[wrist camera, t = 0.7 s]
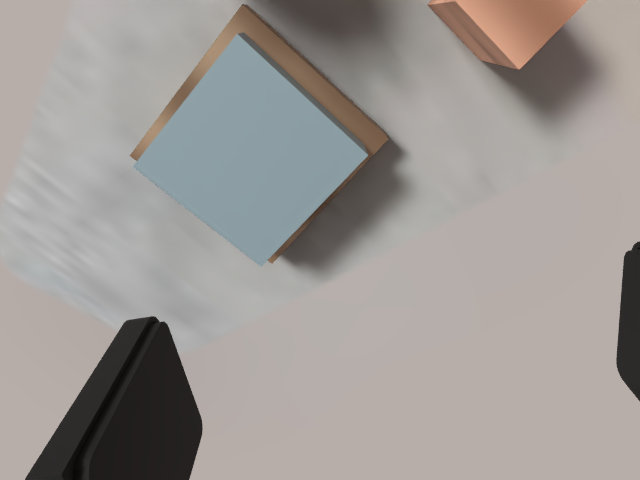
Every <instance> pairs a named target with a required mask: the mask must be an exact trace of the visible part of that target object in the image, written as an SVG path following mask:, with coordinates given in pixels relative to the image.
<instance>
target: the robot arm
mask: <svg viewBox="0 0 640 480" xmlns="http://www.w3.org/2000/svg"><path fill="white" fill-rule="evenodd" d="M617 368H618V371H619V374H620V376H621V378H622V380H623V381H624V382H625V383H626V385H627V386H628V387H629V388H630V390H631V391H632V392H633V393H634V394H635V396H636V397H637V398H638V400H639V401H640V242H637V243H636V244H634V246H633V248H632V250H631V251H628V252H626V254H625V256H624V266H623V279H622V293H621V306H620V319H619V334H618V346H617ZM201 436H202V420H201V416H200V413H199V410H198V408H197V405H196V402H195V400H194V397H193V394H192V391H191V388H190V385H189V383H188V380H187V377H186V375H185V372H184V369H183V366H182V364H181V360H180V358H179V355H178V352H177V349H176V347H175V344H174V341H173V338H172V335H171V333H170V330H169V327H168V325H167V324H166V323H165V322H159V320H158V319H157V318H156V317H154V316H152V317H146V318H139V319H133V320H127V321H126V322H125V323H124V324H123V326H122V327H121V329H120V330H119V332H118V333H117V335H116V337H115V338H114V340H113V341H112V343H111V345H110V346H109V348H108V349H107V351H106V352H105V354H104V356H103V357H102V359H101V360H100V362H99V363H98V365H97V367H96V368H95V370H94V371H93V373H92V374H91V376H90V378H89V379H88V381H87V382H86V384H85V386H84V387H83V389H82V390H81V392H80V393H79V395H78V397H77V398H76V400H75V401H74V403H73V404H72V406H71V407H70V409H69V411H68V412H67V414H66V415H65V417H64V419H63V420H62V422H61V423H60V425H59V426H58V428H57V430H56V431H55V433H54V434H53V436H52V437H51V439H50V441H49V442H48V444H47V446H46V447H45V448H44V450H43V452H42V454H41V455H40V456H39V458H38V460H37V461H36V463H35V464H34V466H33V467H32V469H31V471H30V472H29V474H28V475H27V477H26V479H25V480H189V478H190V475H191V471H192V468H193V464H194V461H195V457H196V454H197V450H198V447H199V443H200V440H201Z"/></svg>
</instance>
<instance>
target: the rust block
mask: <svg viewBox="0 0 640 480" xmlns="http://www.w3.org/2000/svg"><path fill="white" fill-rule="evenodd" d="M586 1H587V0H431V1H430V3H429V4H428V6H429V7H430V8H431V9H432V10H433V11H434V12H435V13H436V14H437V15H438V16H439V17H440V18H441V19H442V20H443V22H444V23H445V24H446V25H447V26H448V27H449V28H450V29H451V30H452V31H453V32H454V33H455V34H456V35H457V36H458V37H459V38H460V39H461V40H462V41H463V43H464V44H465V45H466V46H467V47H468V48H469V49H470V50H471V51H472V52H473V53H474V54H475V55H476V56H477V57H478V58H479V59H480V60H482V61H486V62H490V63H494V64H498V65H502V66H506V67H510V68H514V69H518V70H520V69H521V68H522V67H523V66H524V65H525V64H526V63H527V61H528V60H529V59H530V58H531V57H532V56H533V55H534V54H535V53H536V52H537V51H538V50H539V49H540V48H541V47H542V46H543V45H544V44H545V43H546V42H547V41H548V40H549V39H550V38H551V37H552V36H553V35H554V34H555V33H556V32H557V31H558V30H559V29H560V28H561V27H562V26H563V25H564V24H565V23H566V22H567V21H568V20H569V19H570V18H571V17H572V16H573V15H574V14H575V13H576V12H577V11H578V10H579V9H580V8H581V7H582V6H583V5H584V4H585V2H586Z"/></svg>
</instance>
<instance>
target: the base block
mask: <svg viewBox="0 0 640 480" xmlns="http://www.w3.org/2000/svg"><path fill="white" fill-rule="evenodd" d="M243 32H244V33H245V34H246V35H247V36H248V37H250V38H251V39H252V40H253V41H254V42H255V43H256V44H257V45H258V46H259V47H260V48H261V49H262V50H264V51H265V52H266V53H267V54H268V55H269V56H270V57H271V58H272V59H273V60H274V61H275V62H276V63H277V64H279V65H280V66H281V67H282V68H283V69H284V70H285V71H286V72H287V73H288V74H289V75H290V76H291V77H293V78H294V79H295V80H296V81H297V82H298V83H299V84H300V85H301V86H302V87H303V88H304V89H305V90H306V91H308V92H309V93H310V94H311V95H312V96H313V97H314V98H315V99H316V100H317V101H318V102H319V103H320V104H322V105H323V106H324V107H325V108H326V109H327V110H328V111H329V112H330V113H331V114H332V115H333V116H334V117H336V118H337V119H338V120H339V121H340V122H341V123H342V124H343V125H344V126H345V127H346V128H347V129H348V130H349V131H351V132H352V133H353V134H354V135H355V136H356V137H357V138H358V139H359V140H360V141H361V142H362V143H363V144H364V146H365V148H366V151H367V153H368V156H367V157H366V158H365V159H364V160H363V161H362V162H361V163H360V164H359V165H358V166H357V168H356V169H355V170H354V171H353V172H352V173H351V174H350V175H349V176H348V177H347V178H346V179H345V180H344V181H343V182H342V183H341V184H340V185H339V186H338V187H337V188H336V189H335V190H334V191H333V193H332V194H331V195H330V196H329V197H328V198H327V199H326V200H325V201H324V202H323V203H322V204H321V205H320V206H319V207H318V208H317V209H316V210H315V211H314V212H313V213H312V214H311V215H310V216H309V217H308V219H307V220H306V221H305V222H304V223H303V224H302V225H301V226H300V227H299V228H298V229H297V230H296V231H295V232H294V233H293V234H292V235H291V236H290V237H289V238H288V239H287V240H286V241H285V242H284V243H283V245H282V246H281V247H280V248H279V249H278V250H277V251H276V252H275V253H274V254H273V255H272V256H271V257H270V258H269V259H268V261H269V262H270V263H273V262H274V261H275V260H276V259H277V258H278V257H279V256H280V255H281V253H282V252H283V251H284V250H285V249H286V248H287V247H288V246H289V245H290V244H291V243H292V242H293V241H294V240H295V239H296V237H297V236H298V235H299V234H300V233H301V232H302V231H303V230H304V229H305V228H306V227H307V226H308V225H309V224H310V222H311V221H312V220H313V219H314V218H315V217H316V216H317V215H318V214H319V213H320V212H321V211H322V210H323V209H324V207H325V206H326V205H327V204H328V203H329V202H330V201H331V200H332V199H333V198H334V197H335V196H336V195H337V194H338V192H339V191H340V190H341V189H342V188H343V187H344V186H345V185H346V184H347V183H348V182H349V181H350V180H351V179H352V178H353V176H354V175H355V174H356V173H357V172H358V171H359V170H360V169H361V168H362V167H363V166H364V165H365V164H366V163H367V161H368V160H369V159H370V158H371V157H372V156H373V155H374V154H375V153H376V152H377V151H378V150H379V149H380V148H381V146H382V145H383V144H384V143H385V142H386V141H387V140H388V139H389V138H388V136H387V135H386V133H385V132H384V130H383V129H381V128H380V127H379V126H378V125H377V124H376V123H375V122H374V121H373V120H372V119H371V118H369V117H368V116H367V115H366V114H365V113H364V112H363V111H362V110H361V109H360V108H359V107H358V106H356V105H355V104H354V103H353V102H352V101H351V100H350V99H349V98H348V97H347V96H346V95H345V94H343V93H342V92H341V91H340V90H339V89H338V88H337V87H336V86H335V85H334V84H333V83H332V82H330V81H329V80H328V79H327V78H326V77H325V76H324V75H323V74H322V73H321V72H320V71H318V70H317V69H316V68H315V67H314V66H313V65H312V64H311V63H310V62H309V61H308V60H307V59H305V58H304V57H303V56H302V55H301V54H300V53H299V52H298V51H297V50H296V49H295V48H294V47H292V46H291V45H290V44H289V43H288V42H287V41H286V40H285V39H284V38H283V37H282V36H280V35H279V34H278V33H277V32H276V31H275V30H274V29H273V28H272V27H271V26H270V25H269V24H267V23H266V22H265V21H264V20H263V19H262V18H261V17H260V16H259V15H258V14H257V13H256V12H254V11H253V10H252V9H251V8H250V7H249V6H248V5H244V4H242V5H241V7H240V8H239V10H238V11H237V12H236V14H235V15H234V16H233V18H232V19H231V20H230V22H229V23H228V24H227V26H226V27H225V28H224V30H223V31H222V32H221V34H220V35H219V36H218V38H217V39H216V40H215V42H214V43H213V44H212V46H211V47H210V49H209V50H208V51H207V53H206V54H205V55H204V57H203V58H202V59H201V61H200V62H199V63H198V65H197V66H196V67H195V69H194V70H193V71H192V73H191V74H190V75H189V77H188V78H187V79H186V81H185V82H184V83H183V85H182V86H181V88H180V89H179V90H178V92H177V93H176V94H175V96H174V97H173V98H172V100H171V101H170V102H169V104H168V105H167V106H166V108H165V109H164V110H163V112H162V113H161V114H160V116H159V117H158V118H157V120H156V121H155V122H154V124H153V125H152V127H151V128H150V129H149V131H148V132H147V133H146V135H145V136H144V137H143V139H142V140H141V141H140V143H139V144H138V145H137V147H136V148H135V149H134V151H133V152H132V153H131V155H130V156H131V157H132V158H134V159H135V160H136V161H138V159H139V158H140V157H141V155H142V154H143V153H144V152H145V150H146V149H147V148H148V147H149V145H150V144H151V143H152V141H153V140H154V139H155V138H156V136H157V135H158V134H159V133H160V131H161V130H162V129H163V127H164V126H165V125H166V124H167V122H168V121H169V120H170V119H171V117H172V116H173V115H174V113H175V112H176V111H177V110H178V108H179V107H180V106H181V104H182V103H183V102H184V101H185V99H186V98H187V97H188V96H189V94H190V93H191V92H192V90H193V89H194V88H195V87H196V85H197V84H198V83H199V82H200V80H201V79H202V78H203V76H204V75H205V74H206V73H207V71H208V70H209V69H210V68H211V66H212V65H213V64H214V62H215V61H216V60H217V59H218V57H219V56H220V55H221V54H222V52H223V51H224V50H225V48H226V47H227V46H228V45H229V43H230V42H231V41H232V40H233V38H234V37H235V36H236V34H238V33H243Z"/></svg>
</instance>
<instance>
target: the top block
mask: <svg viewBox="0 0 640 480" xmlns="http://www.w3.org/2000/svg"><path fill="white" fill-rule="evenodd" d="M367 156H368V153H367V151H366V148H365V146H364V144H363V143H362V142H361V141H360V140H359V139H358V138H357V137H356V136H355V135H354V134H353V133H352V132H351V131H349V130H348V129H347V128H346V127H345V126H344V125H343V124H342V123H341V122H340V121H339V120H338V119H337V118H336V117H334V116H333V115H332V114H331V113H330V112H329V111H328V110H327V109H326V108H325V107H324V106H323V105H322V104H320V103H319V102H318V101H317V100H316V99H315V98H314V97H313V96H312V95H311V94H310V93H309V92H308V91H306V90H305V89H304V88H303V87H302V86H301V85H300V84H299V83H298V82H297V81H296V80H295V79H294V78H293V77H291V76H290V75H289V74H288V73H287V72H286V71H285V70H284V69H283V68H282V67H281V66H280V65H279V64H277V63H276V62H275V61H274V60H273V59H272V58H271V57H270V56H269V55H268V54H267V53H266V52H265V51H264V50H262V49H261V48H260V47H259V46H258V45H257V44H256V43H255V42H254V41H253V40H252V39H251V38H250V37H248V36H247V35H246V34H245V33H244V32H243V33H238V34H236V36H235V37H234V38H233V40H232V41H231V42H230V43H229V45H228V46H227V47H226V48H225V50H224V51H223V52H222V54H221V55H220V56H219V57H218V59H217V60H216V61H215V62H214V64H213V65H212V66H211V68H210V69H209V70H208V71H207V73H206V74H205V75H204V76H203V78H202V79H201V80H200V82H199V83H198V84H197V85H196V87H195V88H194V89H193V90H192V92H191V93H190V94H189V96H188V97H187V98H186V99H185V101H184V102H183V103H182V104H181V106H180V107H179V108H178V110H177V111H176V112H175V113H174V115H173V116H172V117H171V119H170V120H169V121H168V122H167V124H166V125H165V126H164V127H163V129H162V130H161V131H160V133H159V134H158V135H157V136H156V138H155V139H154V140H153V141H152V143H151V144H150V145H149V147H148V148H147V149H146V150H145V152H144V153H143V154H142V155H141V157H140V158H139V159H138V161H137V162H136V163H135V164H134V166H133V167H134V168H135V169H136V170H138V171H139V172H140V173H141V174H143V175H144V176H145V177H147V178H148V179H149V180H150V181H152V182H153V183H154V184H156V185H157V186H158V187H159V188H161V189H162V190H163V191H165V192H166V193H167V194H168V195H170V196H171V197H172V198H174V199H175V200H176V201H177V202H179V203H180V204H181V205H183V206H184V207H185V208H186V209H188V210H189V211H190V212H192V213H193V214H194V215H195V216H197V217H198V218H199V219H201V220H202V221H203V222H204V223H206V224H207V225H208V226H210V227H211V228H212V229H213V230H215V231H216V232H217V233H219V234H220V235H221V236H222V237H224V238H225V239H226V240H228V241H229V242H230V243H231V244H233V245H234V246H235V247H237V248H238V249H239V250H240V251H242V252H243V253H244V254H246V255H247V256H248V257H249V258H251V259H252V260H253V261H255V262H256V263H257V264H258V265H260V266H262V265H263V264H264V263H265V262H266V261H267V260H268V259H269V258H270V257H271V256H272V255H273V254H274V253H275V252H276V251H277V250H278V249H279V248H280V247H281V246H282V245H283V243H284V242H285V241H286V240H287V239H288V238H289V237H290V236H291V235H292V234H293V233H294V232H295V231H296V230H297V229H298V228H299V227H300V226H301V225H302V224H303V223H304V222H305V221H306V220H307V219H308V217H309V216H310V215H311V214H312V213H313V212H314V211H315V210H316V209H317V208H318V207H319V206H320V205H321V204H322V203H323V202H324V201H325V200H326V199H327V198H328V197H329V196H330V195H331V194H332V193H333V191H334V190H335V189H336V188H337V187H338V186H339V185H340V184H341V183H342V182H343V181H344V180H345V179H346V178H347V177H348V176H349V175H350V174H351V173H352V172H353V171H354V170H355V169H356V168H357V166H358V165H359V164H360V163H361V162H362V161H363V160H364V159H365V158H366V157H367Z"/></svg>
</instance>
